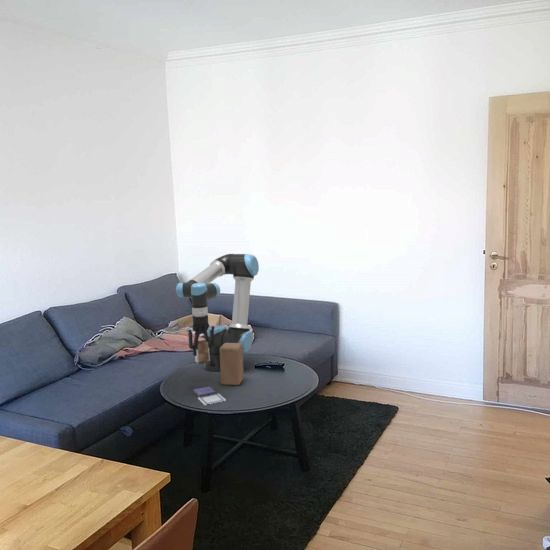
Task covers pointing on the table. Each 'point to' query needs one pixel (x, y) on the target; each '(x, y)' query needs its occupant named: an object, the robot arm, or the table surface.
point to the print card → (211, 399)
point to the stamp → (203, 351)
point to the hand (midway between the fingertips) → (202, 360)
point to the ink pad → (204, 391)
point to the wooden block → (231, 363)
